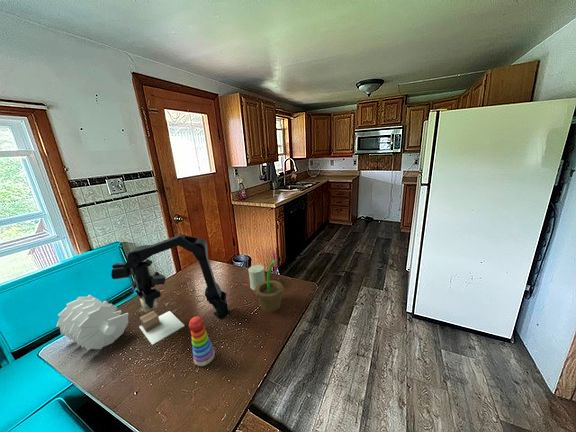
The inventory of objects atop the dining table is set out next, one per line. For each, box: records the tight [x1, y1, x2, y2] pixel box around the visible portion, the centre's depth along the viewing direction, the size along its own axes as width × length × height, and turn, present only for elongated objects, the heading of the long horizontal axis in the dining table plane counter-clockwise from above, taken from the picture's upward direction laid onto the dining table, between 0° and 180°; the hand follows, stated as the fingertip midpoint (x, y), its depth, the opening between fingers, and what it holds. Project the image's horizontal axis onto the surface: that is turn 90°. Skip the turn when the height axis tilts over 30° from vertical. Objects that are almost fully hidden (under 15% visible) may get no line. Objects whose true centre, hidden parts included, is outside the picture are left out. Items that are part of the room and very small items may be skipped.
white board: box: [138, 310, 185, 346], centre depth 108 cm, size 17×14×1 cm
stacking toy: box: [188, 315, 216, 367], centre depth 87 cm, size 8×8×19 cm
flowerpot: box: [254, 250, 284, 313], centre depth 113 cm, size 14×14×30 cm
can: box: [248, 264, 266, 291], centre depth 134 cm, size 9×9×12 cm
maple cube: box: [139, 297, 159, 313], centre depth 104 cm, size 5×5×5 cm
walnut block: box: [139, 310, 160, 332], centre depth 108 cm, size 6×6×5 cm
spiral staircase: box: [55, 294, 130, 351], centre depth 101 cm, size 18×18×25 cm
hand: (149, 305), depth 105 cm, fingers closed on maple cube, 5 cm apart
